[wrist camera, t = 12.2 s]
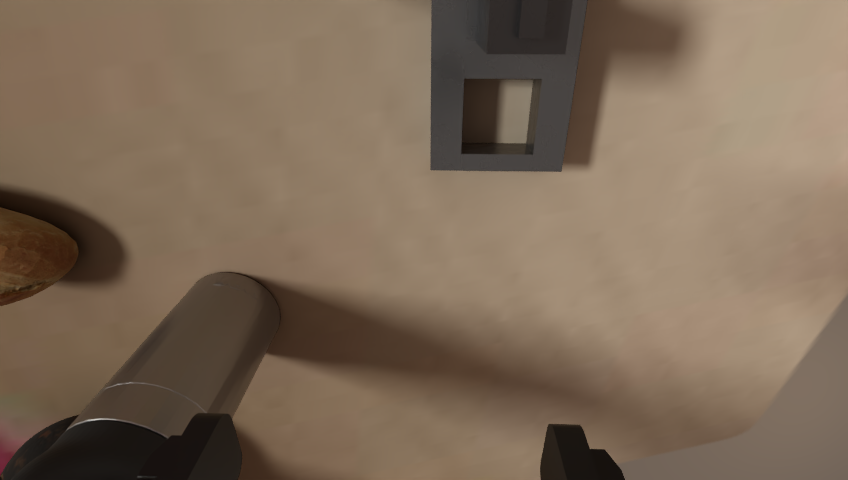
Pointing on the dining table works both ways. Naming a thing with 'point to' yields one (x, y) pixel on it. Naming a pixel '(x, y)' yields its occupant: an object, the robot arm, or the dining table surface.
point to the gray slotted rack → (504, 76)
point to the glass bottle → (35, 447)
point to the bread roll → (31, 255)
